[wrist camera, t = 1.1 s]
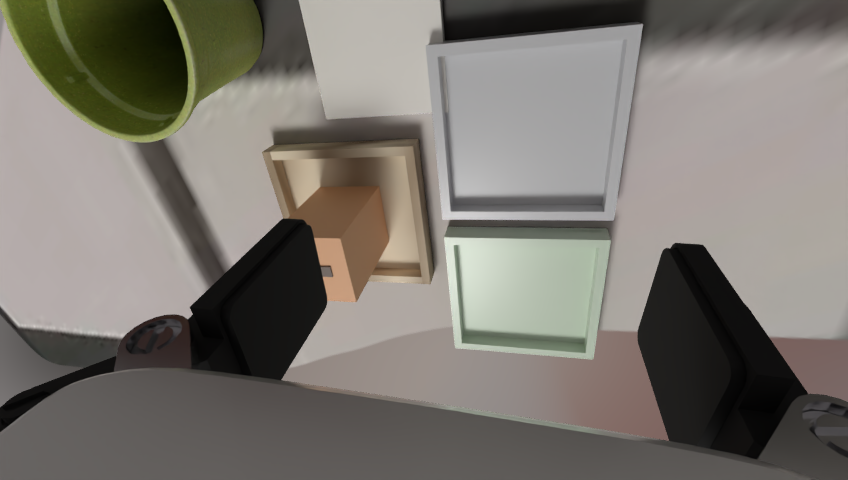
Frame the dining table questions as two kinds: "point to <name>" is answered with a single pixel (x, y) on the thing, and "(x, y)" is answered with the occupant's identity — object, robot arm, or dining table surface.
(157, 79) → the plant pot
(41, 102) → the dining table surface
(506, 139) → the tray grey
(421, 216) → the tray birch
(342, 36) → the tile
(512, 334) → the tray green
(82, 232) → the dining table surface
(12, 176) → the dining table surface
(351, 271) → the letter block
